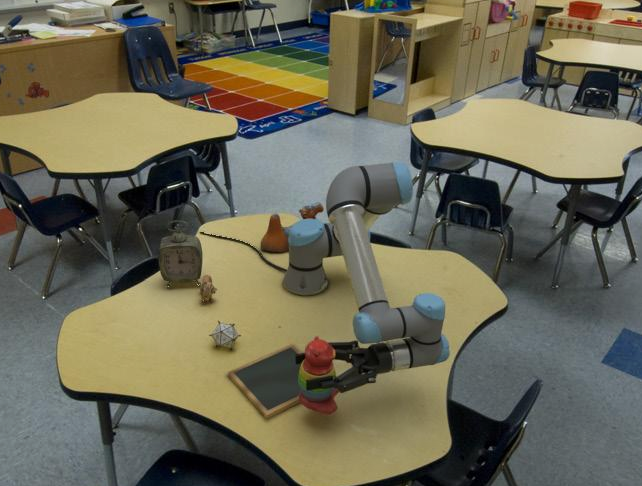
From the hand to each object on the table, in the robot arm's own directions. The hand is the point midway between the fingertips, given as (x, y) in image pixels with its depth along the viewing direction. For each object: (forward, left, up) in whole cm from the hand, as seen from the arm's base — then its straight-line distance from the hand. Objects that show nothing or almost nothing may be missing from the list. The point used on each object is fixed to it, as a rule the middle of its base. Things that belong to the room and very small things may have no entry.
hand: (301, 372), depth 142 cm
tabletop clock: (-76, +4, -17) cm, 78 cm away
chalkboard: (-15, +4, -16) cm, 23 cm away
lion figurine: (-63, +7, -17) cm, 66 cm away
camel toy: (-76, +51, -17) cm, 93 cm away
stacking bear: (+2, +4, -10) cm, 11 cm away
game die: (-37, -1, -17) cm, 41 cm away
